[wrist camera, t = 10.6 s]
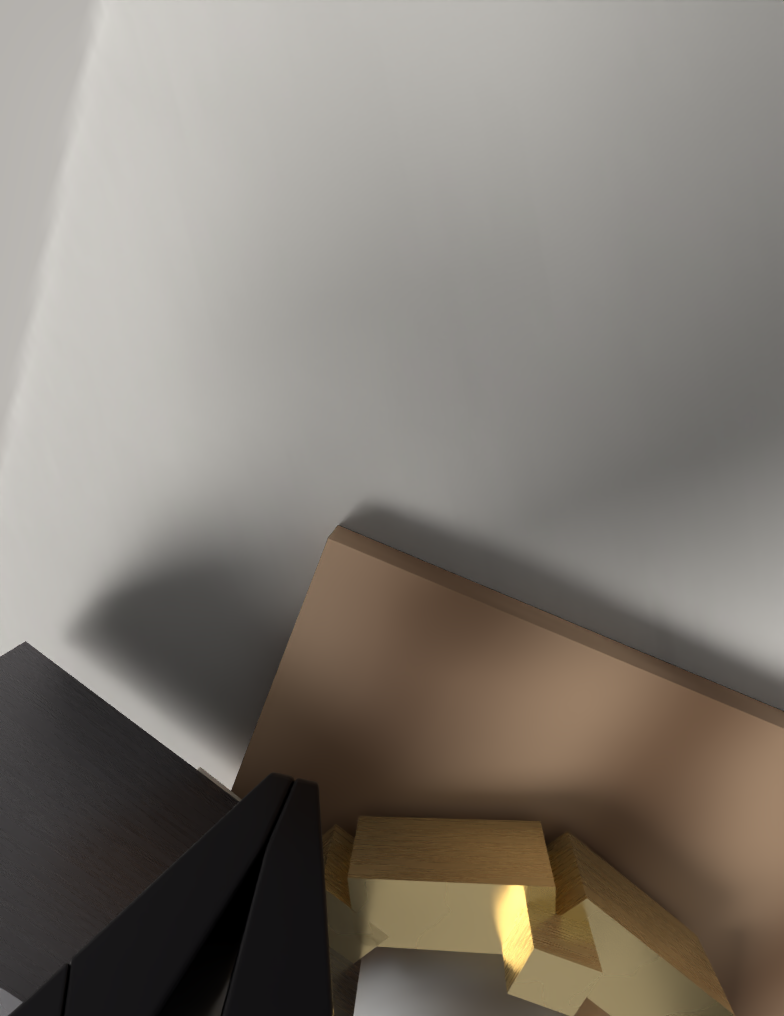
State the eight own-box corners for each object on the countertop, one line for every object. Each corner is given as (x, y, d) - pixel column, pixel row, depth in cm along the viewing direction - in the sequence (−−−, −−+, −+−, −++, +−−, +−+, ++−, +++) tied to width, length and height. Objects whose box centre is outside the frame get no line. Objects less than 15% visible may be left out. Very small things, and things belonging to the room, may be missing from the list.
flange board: (953, 782, 11) (1153, 935, 8) (534, 1214, 17) (556, 1398, 14) (289, 504, 11) (230, 549, 8) (104, 1035, 17) (28, 1179, 14)
